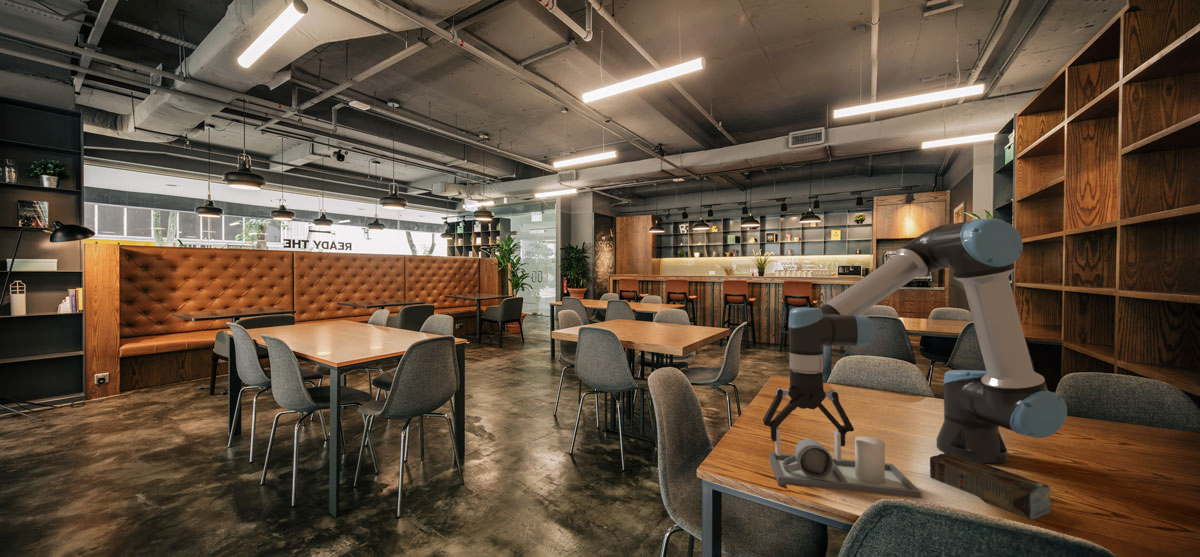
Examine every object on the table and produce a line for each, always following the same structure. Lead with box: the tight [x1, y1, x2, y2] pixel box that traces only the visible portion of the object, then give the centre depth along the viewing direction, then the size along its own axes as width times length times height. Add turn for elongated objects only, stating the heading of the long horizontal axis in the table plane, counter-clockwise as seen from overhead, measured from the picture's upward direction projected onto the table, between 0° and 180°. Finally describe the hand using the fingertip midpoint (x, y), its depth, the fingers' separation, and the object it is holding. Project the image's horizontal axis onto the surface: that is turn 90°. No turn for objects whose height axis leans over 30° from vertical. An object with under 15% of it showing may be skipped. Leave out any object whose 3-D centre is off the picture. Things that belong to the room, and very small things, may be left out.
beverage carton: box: [929, 452, 1052, 521], centre depth 96 cm, size 8×19×7 cm, turn 22°
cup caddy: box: [769, 452, 922, 499], centre depth 104 cm, size 29×15×2 cm, turn 76°
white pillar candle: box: [854, 435, 886, 484], centre depth 103 cm, size 6×6×9 cm
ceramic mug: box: [782, 438, 834, 479], centre depth 106 cm, size 11×8×8 cm
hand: (807, 456), depth 106 cm, fingers open, 13 cm apart
